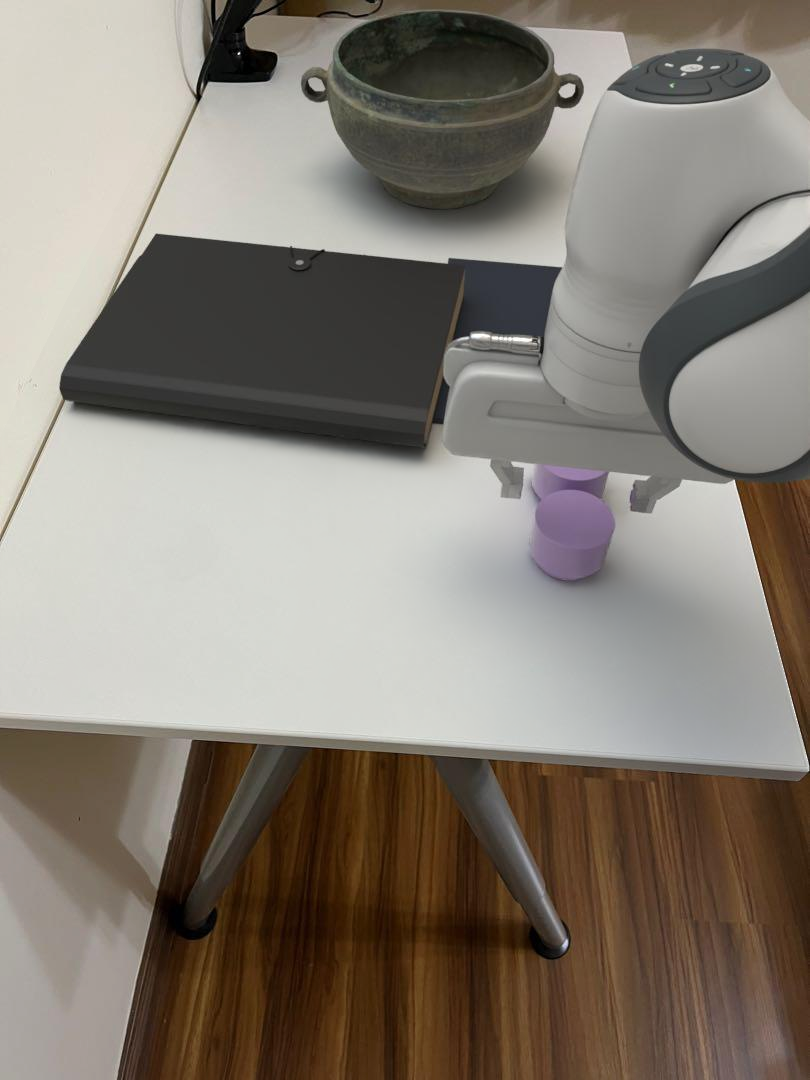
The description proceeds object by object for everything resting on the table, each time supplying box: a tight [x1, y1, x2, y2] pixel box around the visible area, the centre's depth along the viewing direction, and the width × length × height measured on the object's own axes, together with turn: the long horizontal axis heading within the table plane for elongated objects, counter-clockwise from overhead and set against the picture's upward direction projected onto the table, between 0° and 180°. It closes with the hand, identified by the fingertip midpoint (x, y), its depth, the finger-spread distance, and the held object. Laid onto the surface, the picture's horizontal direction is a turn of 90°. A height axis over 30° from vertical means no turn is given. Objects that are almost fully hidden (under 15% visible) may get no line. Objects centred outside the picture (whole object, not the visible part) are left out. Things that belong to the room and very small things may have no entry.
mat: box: [432, 257, 563, 424], centre depth 84 cm, size 20×26×1 cm
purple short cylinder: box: [531, 464, 610, 501], centre depth 70 cm, size 6×6×5 cm
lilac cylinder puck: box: [528, 490, 616, 581], centre depth 65 cm, size 6×6×5 cm
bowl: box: [300, 8, 585, 210], centre depth 99 cm, size 32×26×15 cm
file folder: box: [59, 233, 466, 449], centre depth 81 cm, size 33×4×24 cm
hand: (574, 499), depth 62 cm, fingers open, 8 cm apart
